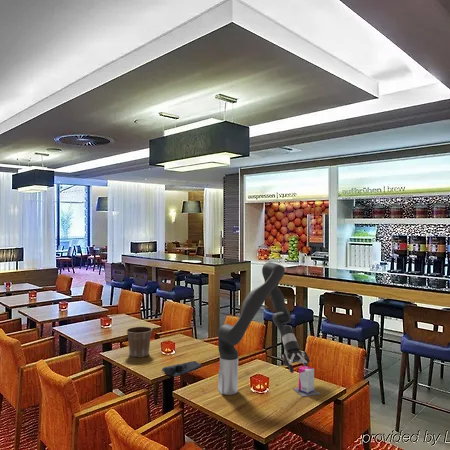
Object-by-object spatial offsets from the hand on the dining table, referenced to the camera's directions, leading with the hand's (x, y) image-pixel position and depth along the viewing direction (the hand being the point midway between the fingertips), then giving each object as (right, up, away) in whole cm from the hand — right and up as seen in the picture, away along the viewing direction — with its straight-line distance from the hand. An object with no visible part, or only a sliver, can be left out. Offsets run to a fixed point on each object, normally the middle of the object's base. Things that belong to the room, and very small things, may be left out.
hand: (300, 371), depth 212 cm
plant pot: (-95, -6, +47) cm, 106 cm away
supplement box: (+2, -8, -6) cm, 10 cm away
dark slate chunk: (-64, -7, +22) cm, 68 cm away
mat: (+2, -8, -7) cm, 10 cm away
